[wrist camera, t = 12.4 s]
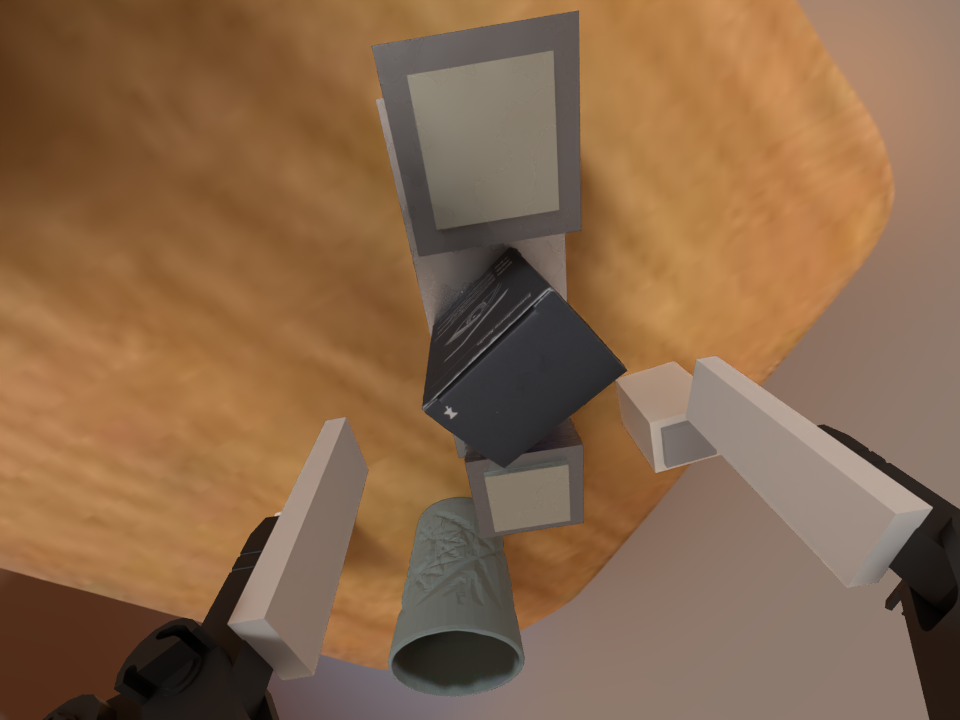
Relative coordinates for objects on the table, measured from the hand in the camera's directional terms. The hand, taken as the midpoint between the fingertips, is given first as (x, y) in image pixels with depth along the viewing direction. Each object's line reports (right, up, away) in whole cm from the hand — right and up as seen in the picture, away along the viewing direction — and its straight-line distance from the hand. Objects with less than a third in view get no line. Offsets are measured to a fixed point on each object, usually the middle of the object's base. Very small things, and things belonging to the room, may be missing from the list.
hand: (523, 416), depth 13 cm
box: (0, +6, +12) cm, 13 cm away
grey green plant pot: (-4, -15, +23) cm, 28 cm away
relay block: (+13, -1, +17) cm, 21 cm away
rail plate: (-1, +6, +12) cm, 14 cm away
